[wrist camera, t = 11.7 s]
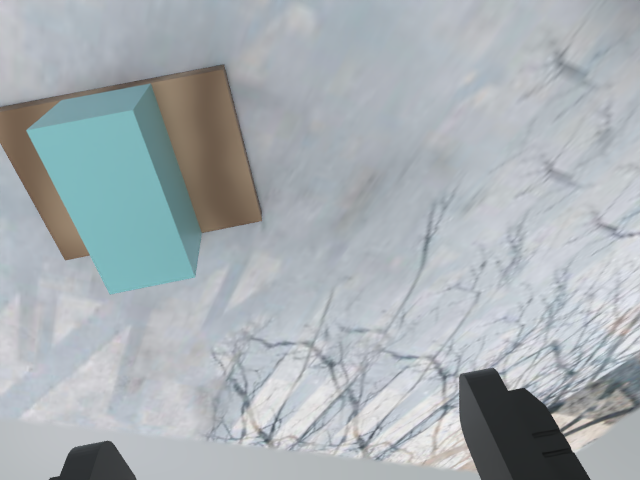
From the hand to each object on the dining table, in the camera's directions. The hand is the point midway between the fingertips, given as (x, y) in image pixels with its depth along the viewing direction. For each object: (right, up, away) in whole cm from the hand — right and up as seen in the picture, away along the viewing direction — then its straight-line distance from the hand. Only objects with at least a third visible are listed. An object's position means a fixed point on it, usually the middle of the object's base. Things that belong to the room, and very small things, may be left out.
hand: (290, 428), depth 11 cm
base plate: (-13, +10, +25) cm, 30 cm away
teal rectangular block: (-13, +9, +24) cm, 29 cm away
